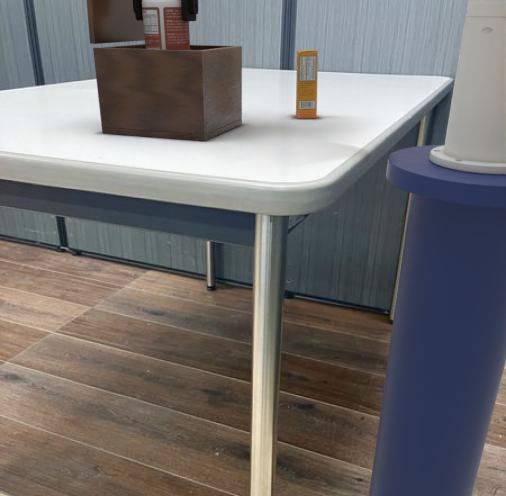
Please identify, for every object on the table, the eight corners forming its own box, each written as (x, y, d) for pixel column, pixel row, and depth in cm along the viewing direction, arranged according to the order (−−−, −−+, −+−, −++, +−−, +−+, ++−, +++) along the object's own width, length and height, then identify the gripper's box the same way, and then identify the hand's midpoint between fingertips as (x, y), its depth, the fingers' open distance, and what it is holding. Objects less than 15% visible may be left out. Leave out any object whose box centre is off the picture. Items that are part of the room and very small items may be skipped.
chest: (242, 124, 90) (241, 46, 85) (204, 141, 78) (201, 50, 73) (150, 118, 95) (145, 43, 89) (102, 133, 82) (92, 47, 77)
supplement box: (293, 115, 98) (296, 49, 94) (314, 115, 99) (317, 49, 94) (295, 118, 96) (298, 50, 91) (316, 118, 96) (320, 50, 91)
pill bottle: (193, 66, 85) (189, -24, 80) (188, 70, 80) (184, -26, 74) (150, 65, 85) (144, -24, 80) (142, 69, 80) (135, -27, 74)
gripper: (77, -151, 70) (95, 20, 79) (211, -161, 66) (214, 22, 74) (110, -137, 77) (124, 19, 85) (234, -146, 72) (235, 21, 80)
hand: (166, 19), depth 80 cm, fingers closed on pill bottle, 6 cm apart
